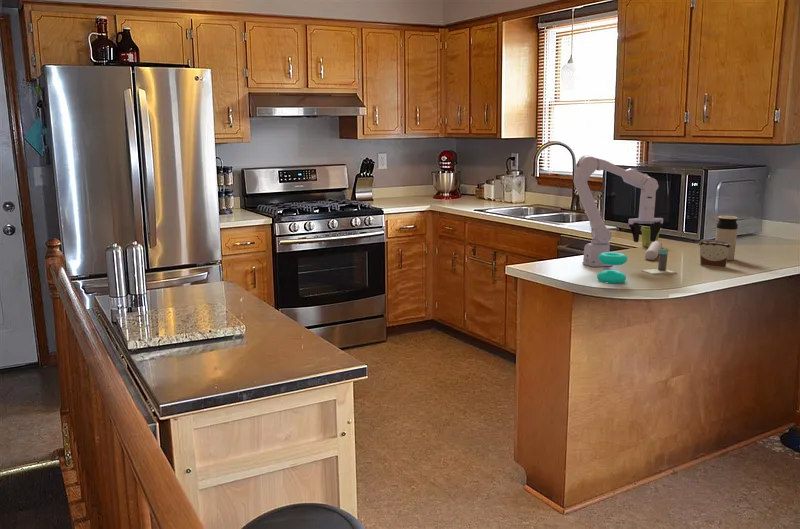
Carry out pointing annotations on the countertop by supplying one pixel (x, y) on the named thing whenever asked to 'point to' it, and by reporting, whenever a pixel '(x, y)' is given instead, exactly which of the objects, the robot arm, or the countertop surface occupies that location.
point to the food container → (714, 253)
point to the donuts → (612, 275)
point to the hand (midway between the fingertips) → (644, 241)
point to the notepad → (659, 272)
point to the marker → (662, 259)
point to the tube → (653, 250)
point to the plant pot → (647, 236)
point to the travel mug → (727, 232)
